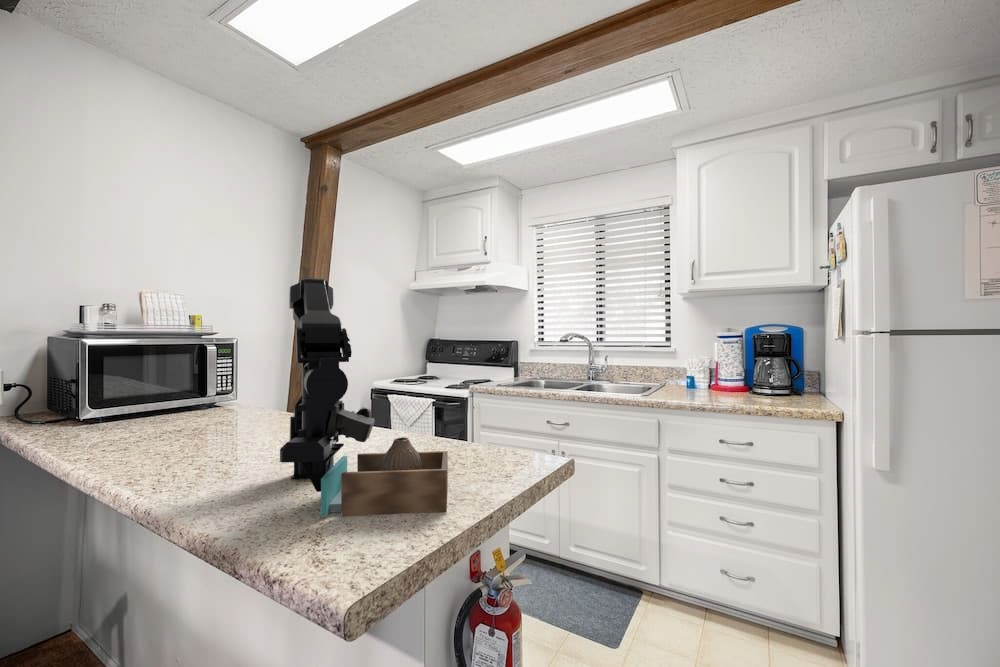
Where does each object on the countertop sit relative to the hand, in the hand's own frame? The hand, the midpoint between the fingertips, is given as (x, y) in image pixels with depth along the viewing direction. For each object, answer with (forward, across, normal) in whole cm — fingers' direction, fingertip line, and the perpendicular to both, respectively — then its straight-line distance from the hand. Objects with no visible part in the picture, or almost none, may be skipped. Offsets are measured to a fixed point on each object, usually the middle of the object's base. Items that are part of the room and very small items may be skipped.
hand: (320, 491), depth 72 cm
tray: (+2, 0, -10) cm, 10 cm away
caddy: (+2, 0, -13) cm, 13 cm away
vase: (+1, 0, -13) cm, 13 cm away
